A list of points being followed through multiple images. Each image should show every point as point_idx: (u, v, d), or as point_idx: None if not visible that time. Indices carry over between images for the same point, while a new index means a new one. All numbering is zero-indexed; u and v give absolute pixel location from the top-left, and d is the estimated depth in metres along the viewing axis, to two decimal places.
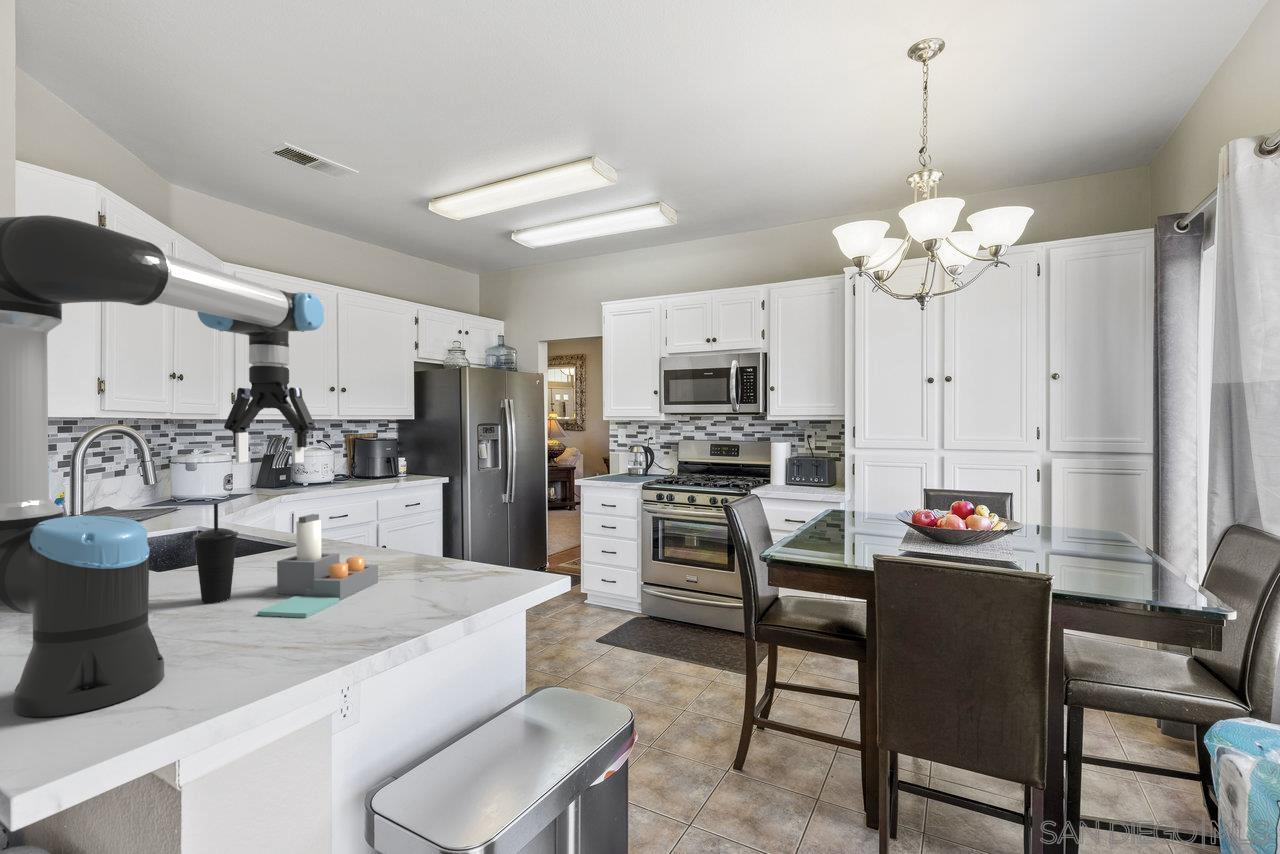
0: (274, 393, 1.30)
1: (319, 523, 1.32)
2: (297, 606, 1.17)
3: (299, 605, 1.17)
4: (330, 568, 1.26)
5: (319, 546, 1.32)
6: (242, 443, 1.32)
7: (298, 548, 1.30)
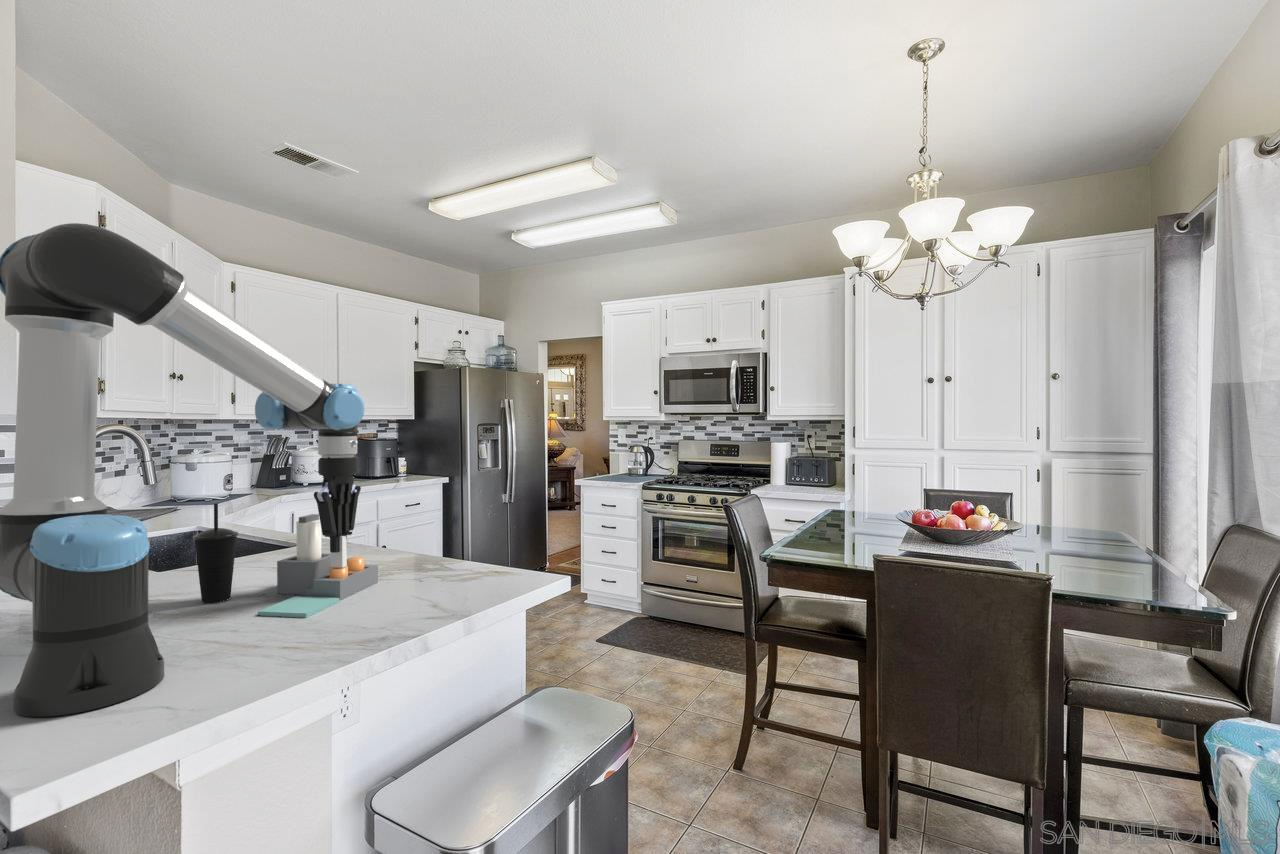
0: None
1: (319, 523, 1.32)
2: (297, 606, 1.17)
3: (299, 605, 1.17)
4: (330, 571, 1.26)
5: (319, 546, 1.32)
6: None
7: (298, 548, 1.30)
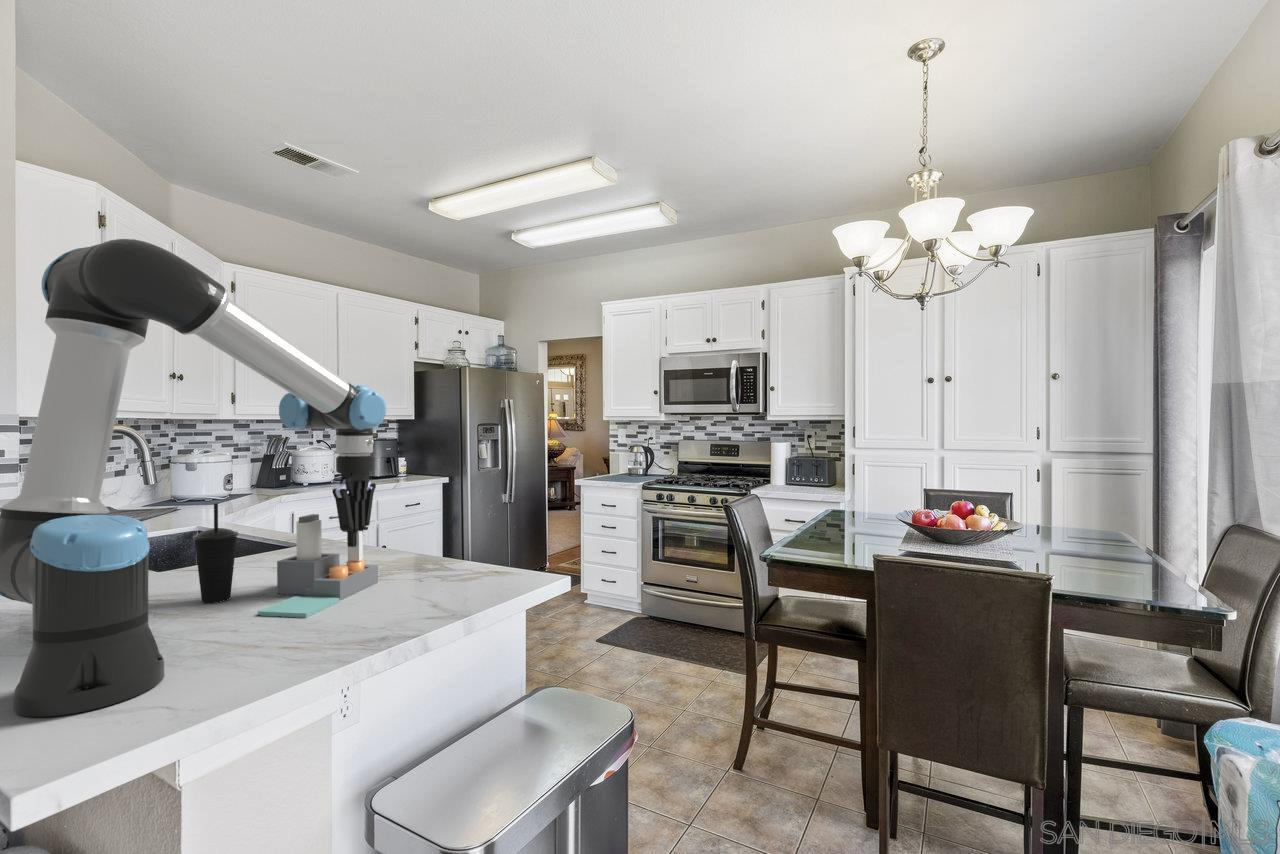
0: None
1: (319, 523, 1.32)
2: (297, 606, 1.17)
3: (299, 605, 1.17)
4: (330, 571, 1.26)
5: (319, 546, 1.32)
6: None
7: (298, 548, 1.30)
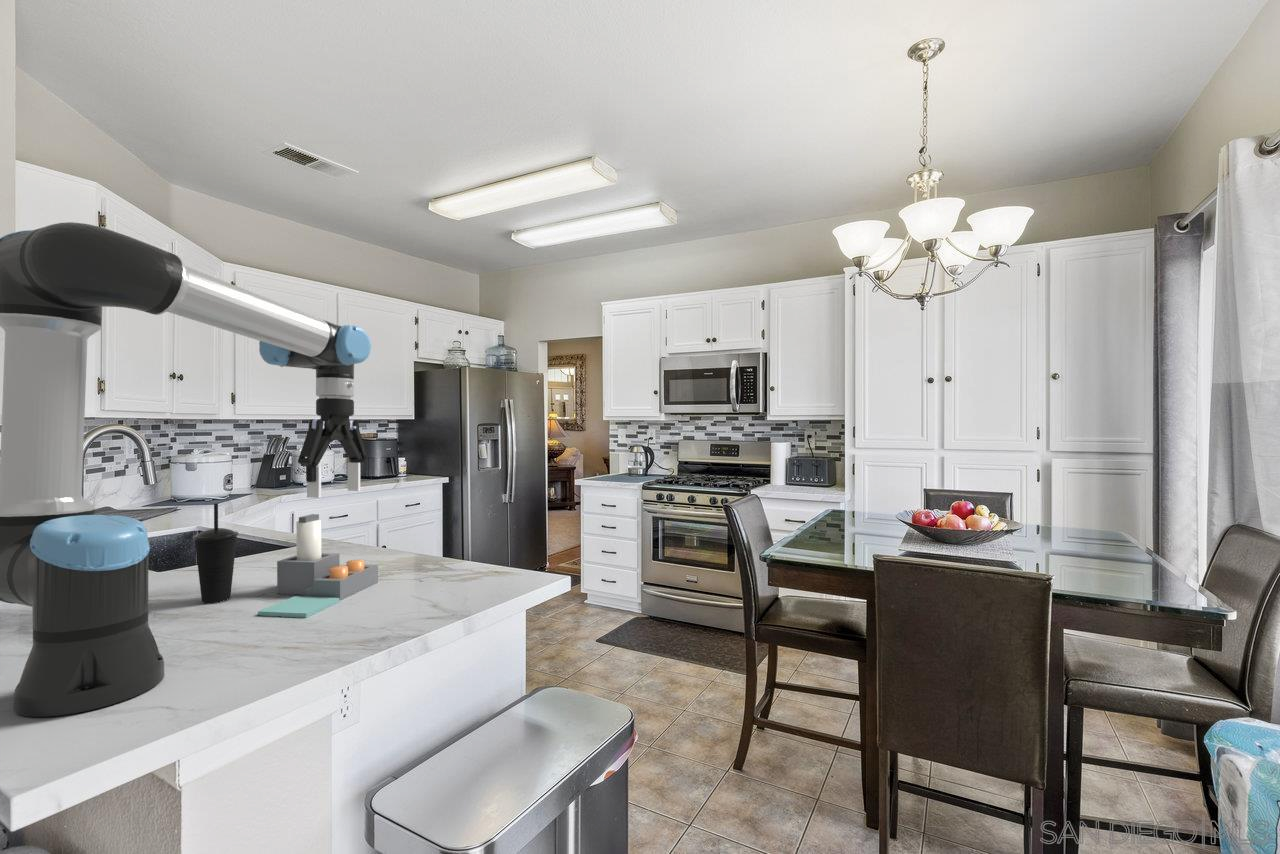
0: None
1: (319, 523, 1.32)
2: (297, 606, 1.17)
3: (299, 605, 1.17)
4: (330, 571, 1.26)
5: (319, 546, 1.32)
6: (351, 472, 1.39)
7: (298, 548, 1.30)
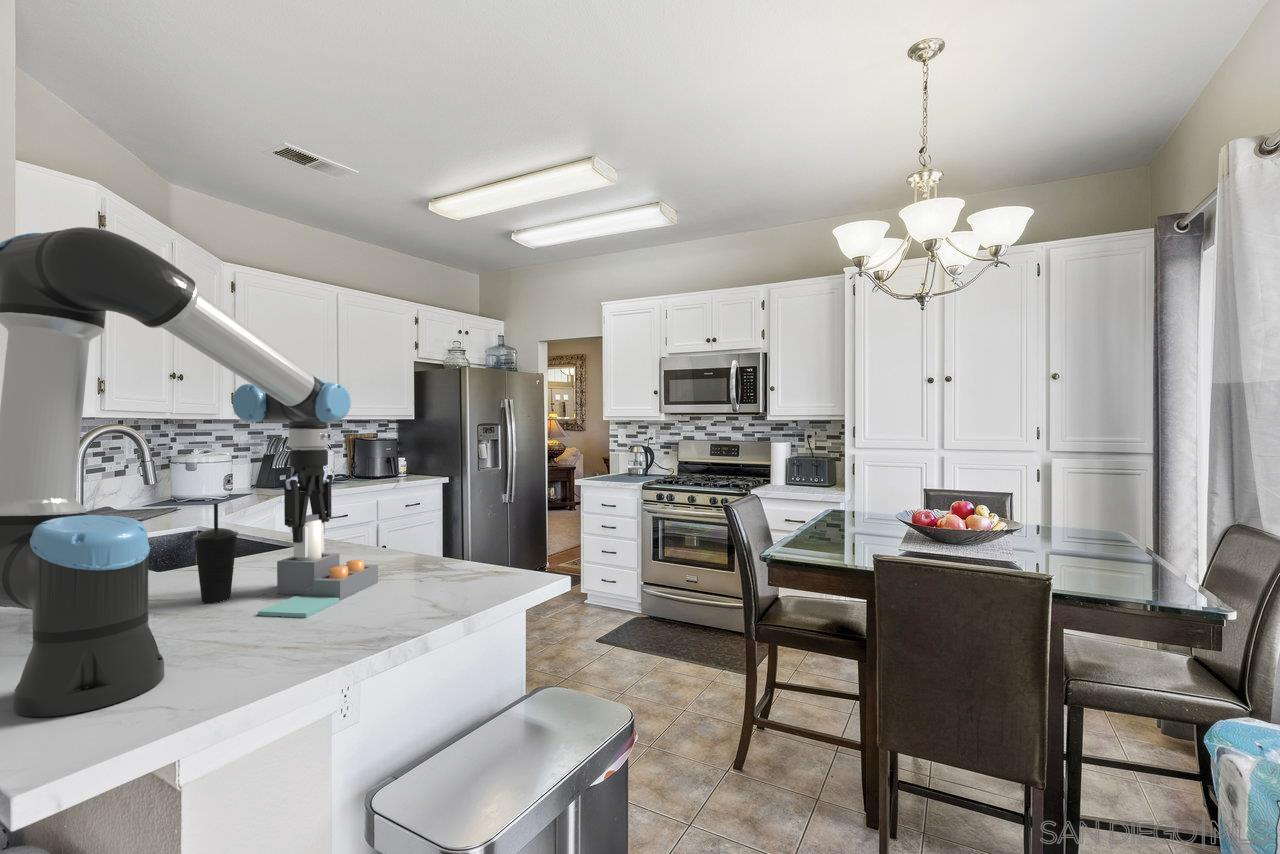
0: None
1: (319, 523, 1.32)
2: (297, 606, 1.17)
3: (299, 605, 1.17)
4: (330, 571, 1.26)
5: (319, 546, 1.32)
6: None
7: None
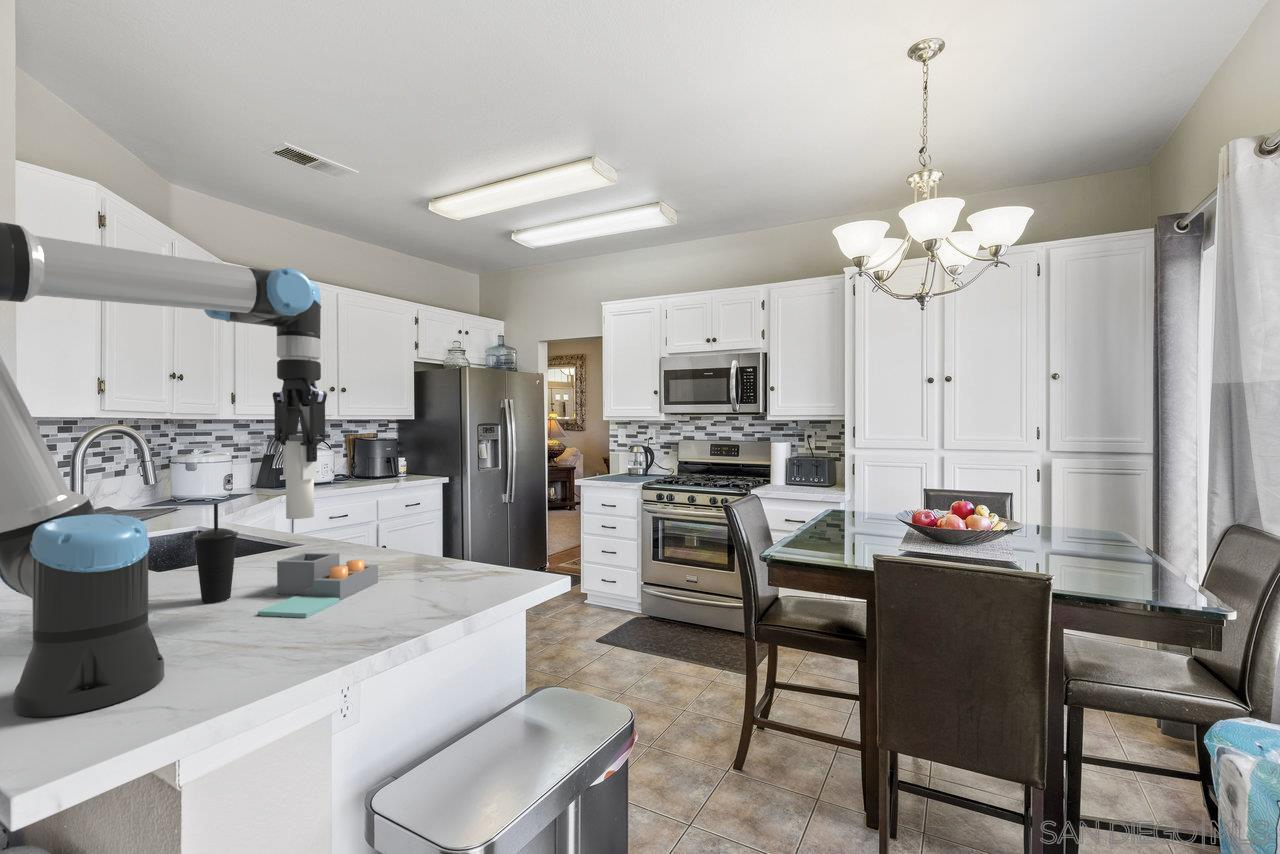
0: (300, 388, 1.16)
1: None
2: (297, 606, 1.17)
3: (299, 605, 1.17)
4: (330, 571, 1.26)
5: None
6: None
7: None
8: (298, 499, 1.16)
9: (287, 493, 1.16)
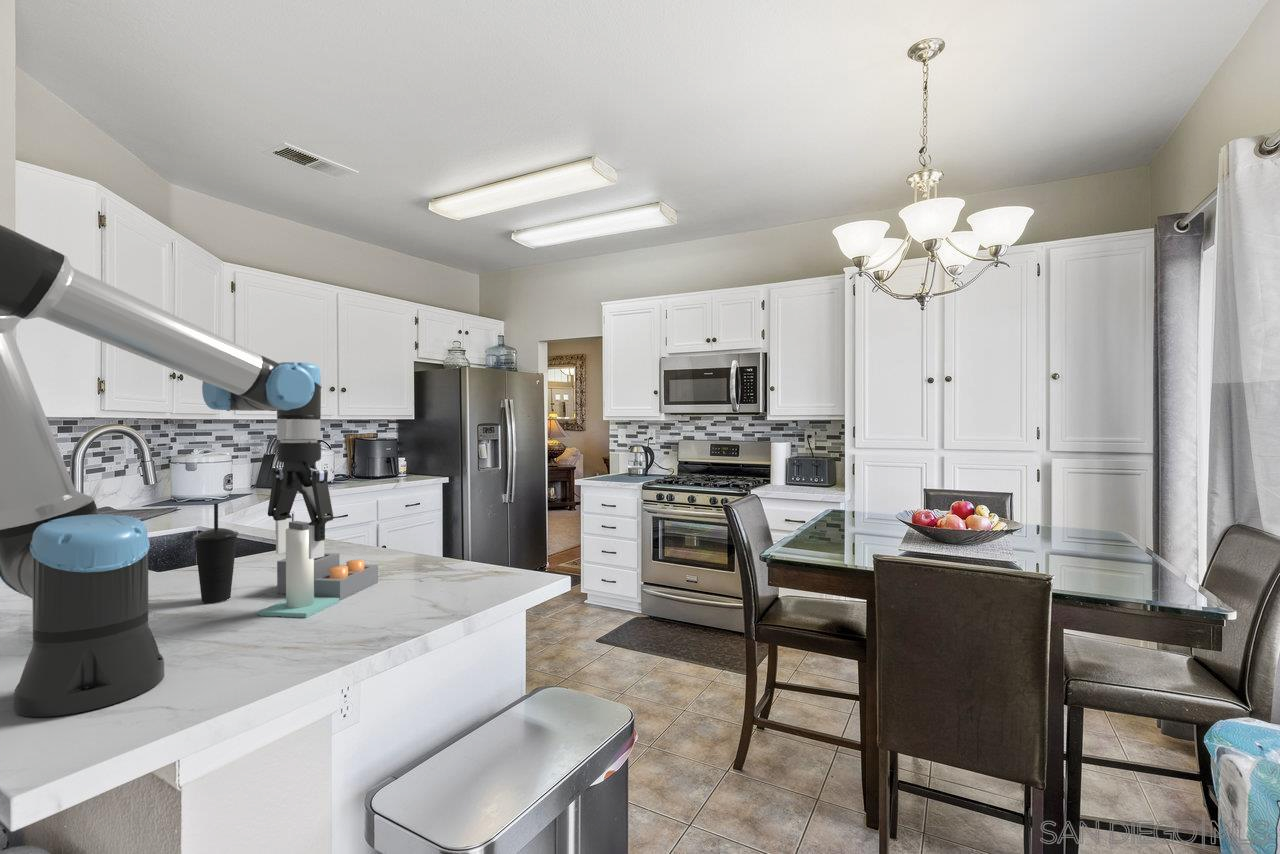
0: (300, 472, 1.16)
1: None
2: None
3: None
4: (330, 571, 1.26)
5: None
6: (283, 531, 1.20)
7: (302, 559, 1.16)
8: (298, 588, 1.16)
9: (287, 582, 1.16)
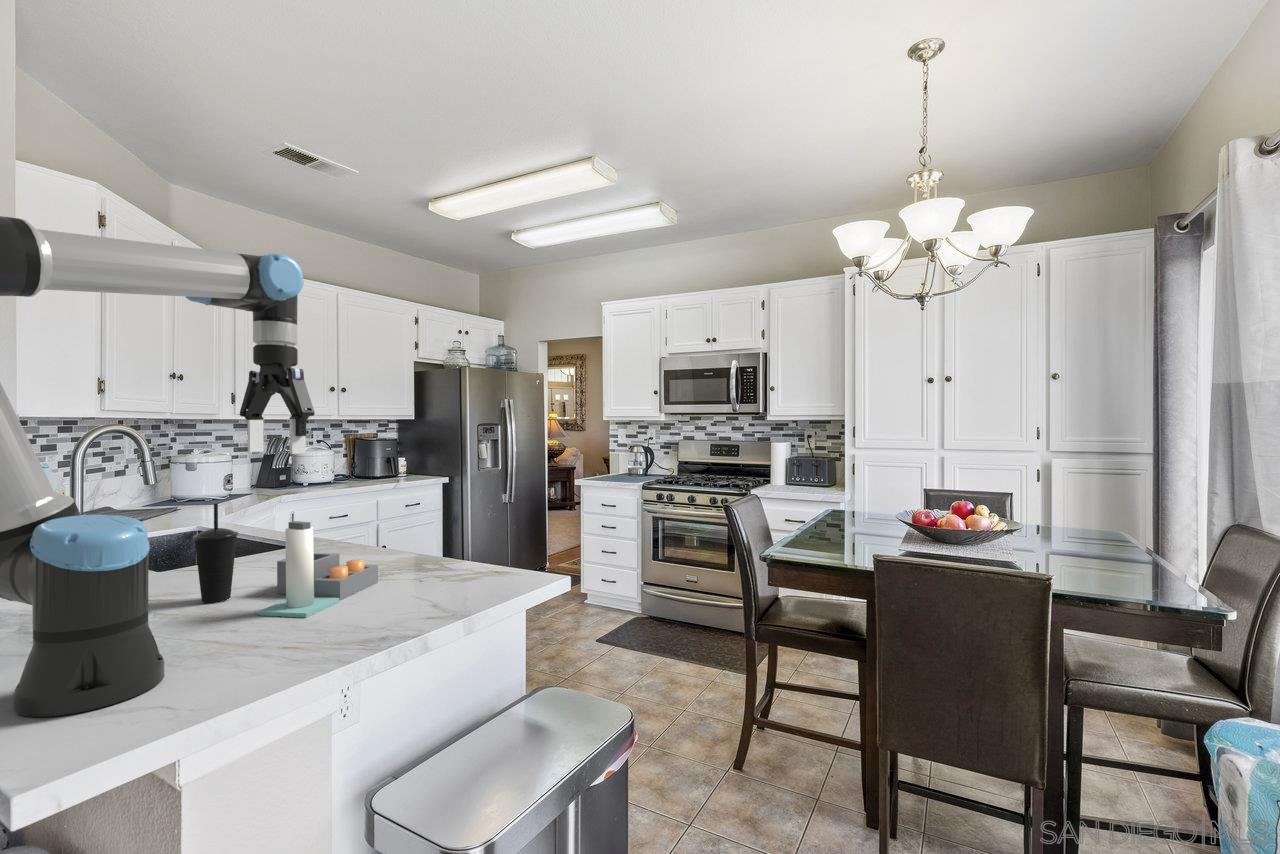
0: (276, 375, 1.16)
1: None
2: None
3: None
4: (330, 571, 1.26)
5: None
6: (255, 431, 1.21)
7: (302, 558, 1.16)
8: (298, 587, 1.16)
9: (287, 582, 1.16)
